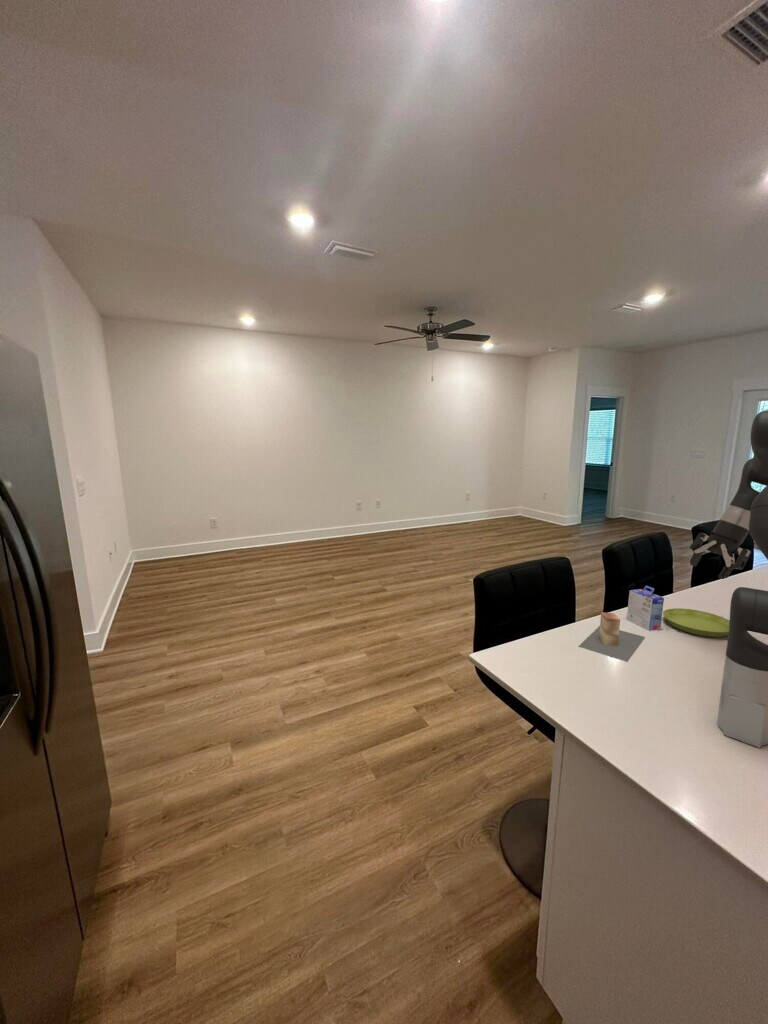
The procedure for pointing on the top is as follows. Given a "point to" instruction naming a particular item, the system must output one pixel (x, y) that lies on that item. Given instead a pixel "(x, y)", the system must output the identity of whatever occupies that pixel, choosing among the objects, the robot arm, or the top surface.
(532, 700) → the top surface
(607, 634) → the beech block
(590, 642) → the rubber mat
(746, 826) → the top surface
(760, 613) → the robot arm
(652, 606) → the ink cartridge box
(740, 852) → the top surface
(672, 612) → the saucer
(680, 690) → the top surface
